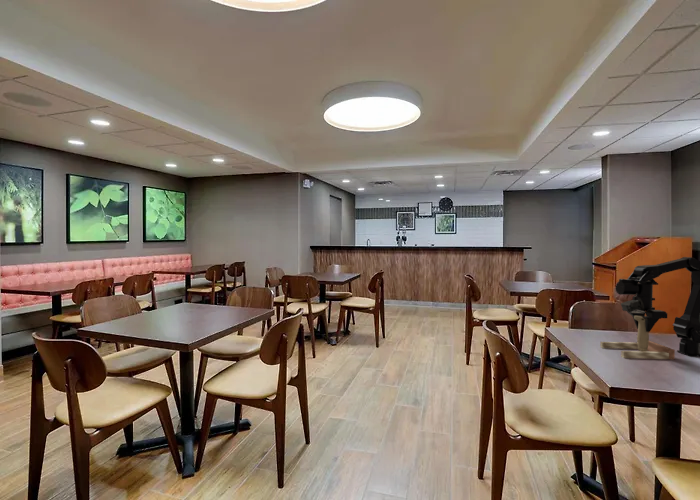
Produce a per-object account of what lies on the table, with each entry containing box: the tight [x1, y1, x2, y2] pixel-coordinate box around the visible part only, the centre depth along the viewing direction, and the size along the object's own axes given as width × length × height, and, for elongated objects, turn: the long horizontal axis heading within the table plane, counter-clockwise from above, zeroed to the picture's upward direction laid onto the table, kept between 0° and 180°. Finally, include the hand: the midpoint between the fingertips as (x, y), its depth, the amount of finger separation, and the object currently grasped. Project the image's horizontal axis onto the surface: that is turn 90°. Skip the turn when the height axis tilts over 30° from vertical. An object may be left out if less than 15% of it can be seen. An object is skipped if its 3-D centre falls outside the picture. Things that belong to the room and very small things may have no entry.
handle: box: [633, 315, 650, 351], centre depth 159 cm, size 5×6×15 cm
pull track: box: [599, 340, 676, 360], centre depth 159 cm, size 20×16×4 cm
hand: (643, 330), depth 159 cm, fingers closed on handle, 5 cm apart
